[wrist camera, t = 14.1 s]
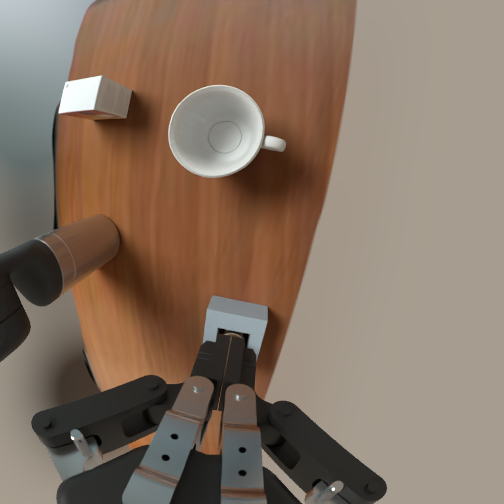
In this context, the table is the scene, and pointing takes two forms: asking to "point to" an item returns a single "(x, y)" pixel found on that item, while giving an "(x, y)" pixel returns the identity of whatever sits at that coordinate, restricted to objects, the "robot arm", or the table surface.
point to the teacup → (218, 131)
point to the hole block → (236, 320)
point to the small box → (95, 99)
